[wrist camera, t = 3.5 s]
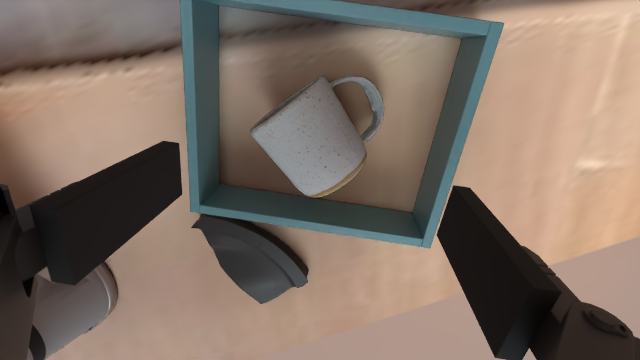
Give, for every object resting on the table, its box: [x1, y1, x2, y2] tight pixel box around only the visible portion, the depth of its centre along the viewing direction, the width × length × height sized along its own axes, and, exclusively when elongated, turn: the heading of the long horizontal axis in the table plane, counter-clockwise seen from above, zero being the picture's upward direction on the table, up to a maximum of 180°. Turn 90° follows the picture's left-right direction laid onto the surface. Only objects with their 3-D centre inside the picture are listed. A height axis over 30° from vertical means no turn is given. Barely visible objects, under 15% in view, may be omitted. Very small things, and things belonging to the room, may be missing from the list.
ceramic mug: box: [250, 76, 384, 197], centre depth 26 cm, size 11×8×8 cm
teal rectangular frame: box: [180, 0, 504, 248], centre depth 27 cm, size 23×19×5 cm
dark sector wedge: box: [191, 214, 308, 304], centre depth 35 cm, size 8×14×2 cm, turn 37°
